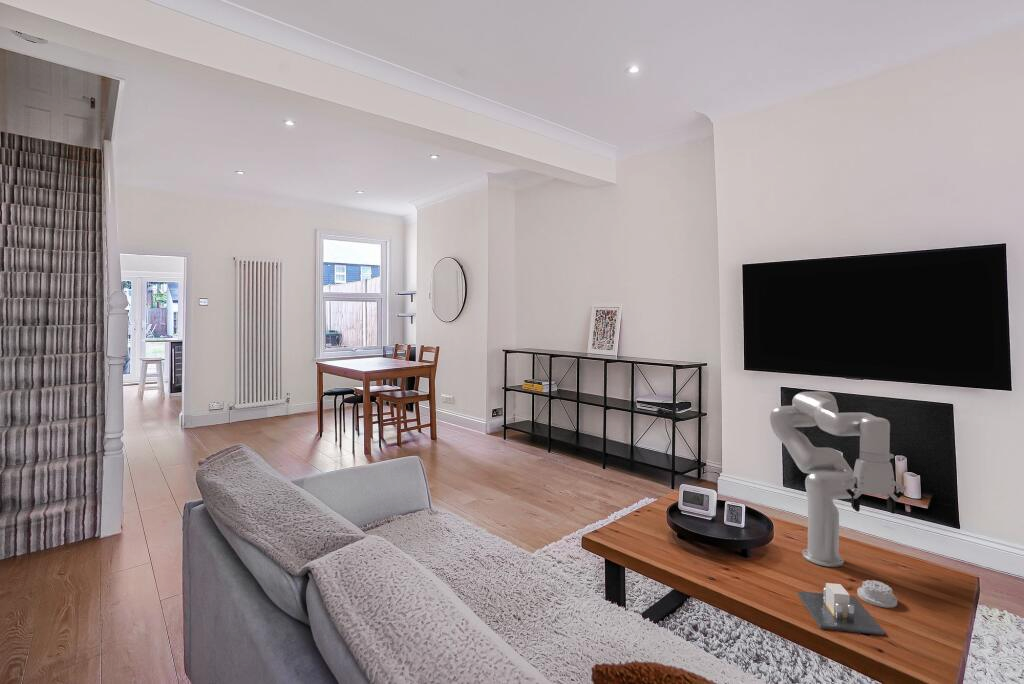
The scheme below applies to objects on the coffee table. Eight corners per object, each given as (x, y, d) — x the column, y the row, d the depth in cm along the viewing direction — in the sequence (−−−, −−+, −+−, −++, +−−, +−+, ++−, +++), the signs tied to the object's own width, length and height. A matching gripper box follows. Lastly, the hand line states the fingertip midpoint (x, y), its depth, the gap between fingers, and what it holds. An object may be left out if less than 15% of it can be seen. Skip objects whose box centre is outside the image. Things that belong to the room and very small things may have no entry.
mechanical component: (897, 597, 155) (858, 587, 162) (898, 584, 155) (859, 574, 161) (896, 612, 148) (855, 600, 154) (897, 598, 147) (856, 586, 154)
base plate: (797, 594, 158) (797, 578, 157) (854, 599, 154) (854, 583, 154) (820, 628, 140) (820, 611, 140) (884, 635, 137) (885, 617, 136)
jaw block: (825, 602, 151) (825, 582, 151) (840, 603, 150) (840, 584, 150) (833, 613, 145) (834, 593, 145) (849, 615, 144) (849, 594, 144)
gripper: (899, 455, 158) (898, 508, 159) (838, 452, 161) (837, 504, 162) (912, 461, 151) (911, 517, 151) (848, 459, 154) (847, 513, 155)
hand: (873, 511), depth 157 cm, fingers open, 9 cm apart
